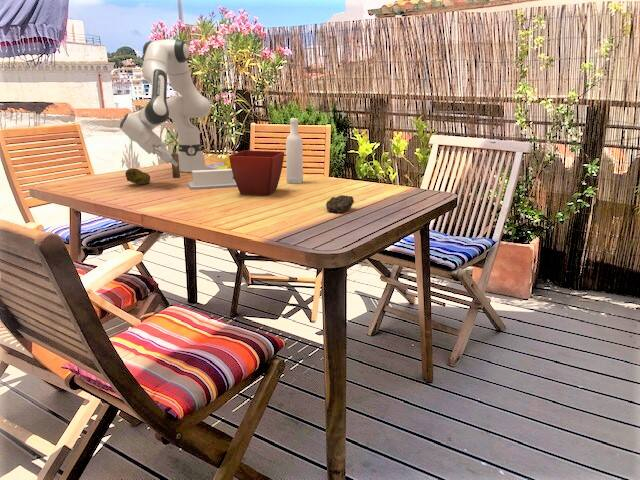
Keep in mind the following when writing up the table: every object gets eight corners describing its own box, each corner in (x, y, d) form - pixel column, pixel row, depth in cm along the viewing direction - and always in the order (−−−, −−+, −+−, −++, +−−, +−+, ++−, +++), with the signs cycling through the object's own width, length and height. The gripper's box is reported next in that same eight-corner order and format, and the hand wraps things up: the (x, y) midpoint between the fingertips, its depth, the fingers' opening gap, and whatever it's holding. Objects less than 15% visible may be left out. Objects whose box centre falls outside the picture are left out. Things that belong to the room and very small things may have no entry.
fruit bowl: (198, 179, 260) (196, 156, 257) (223, 171, 285) (222, 150, 282) (250, 182, 253) (249, 158, 249) (271, 173, 277) (271, 152, 274)
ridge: (187, 184, 247) (186, 169, 245) (233, 181, 254) (233, 167, 252) (190, 189, 234) (189, 174, 232) (239, 186, 241) (239, 171, 239)
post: (172, 177, 245) (170, 153, 241) (179, 176, 246) (177, 153, 243) (173, 178, 242) (171, 154, 239) (180, 178, 243) (178, 154, 240)
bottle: (302, 184, 248) (302, 118, 240) (285, 184, 248) (284, 118, 240) (303, 181, 256) (302, 117, 247) (287, 181, 256) (286, 117, 248)
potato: (156, 183, 248) (155, 166, 246) (131, 187, 239) (129, 170, 237) (147, 181, 254) (146, 165, 251) (122, 185, 245) (120, 168, 242)
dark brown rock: (337, 205, 204) (337, 193, 202) (358, 209, 198) (358, 196, 196) (318, 211, 195) (318, 197, 194) (340, 215, 189) (340, 201, 188)
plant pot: (273, 197, 218) (272, 156, 213) (229, 195, 221) (227, 155, 217) (285, 189, 236) (285, 151, 231) (245, 187, 239) (243, 150, 235)
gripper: (158, 141, 227) (183, 163, 233) (156, 136, 245) (179, 156, 251) (149, 152, 227) (174, 173, 233) (147, 146, 245) (170, 166, 251)
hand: (176, 164), depth 242 cm, fingers closed on post, 3 cm apart
